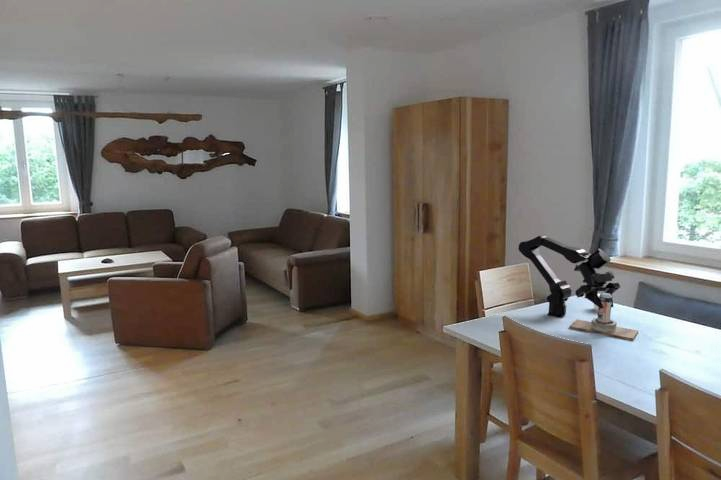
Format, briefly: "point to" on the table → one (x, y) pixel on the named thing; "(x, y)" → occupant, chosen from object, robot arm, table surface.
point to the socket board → (604, 329)
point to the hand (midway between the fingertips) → (607, 307)
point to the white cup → (596, 305)
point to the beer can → (605, 308)
